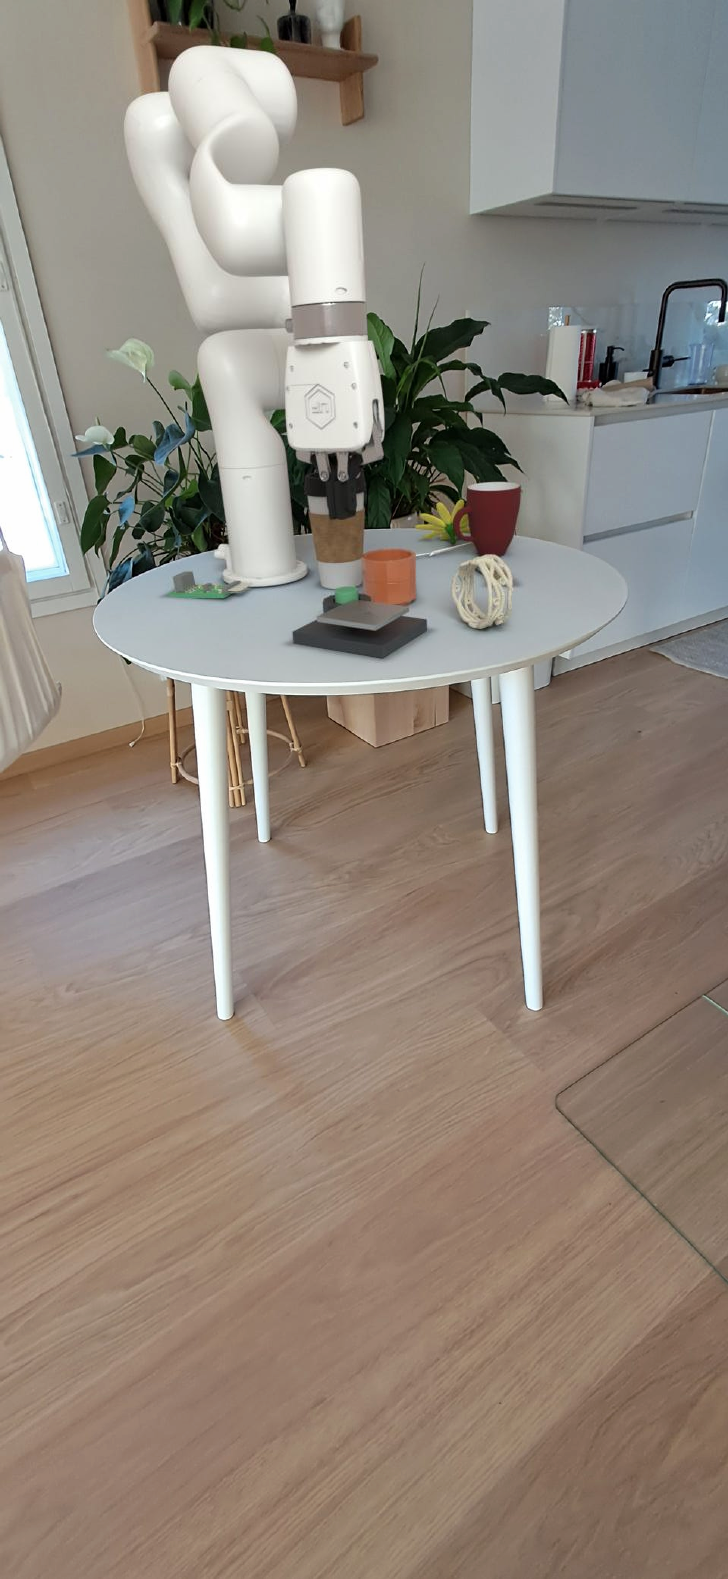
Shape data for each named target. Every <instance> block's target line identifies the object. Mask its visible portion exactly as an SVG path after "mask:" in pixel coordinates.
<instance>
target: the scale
mask: <svg viewBox="0 0 728 1579" xmlns="http://www.w3.org/2000/svg"><path fill="white" fill-rule="evenodd" d="M358 598H359V600H361V601H369V602H371V597H370V596H368V595H366V594H363V593H361V592H360V593H359V592H358ZM340 605H342V604H340V603H335V594H331V595H329V596H327V597H324V598H323V601H322V612H323V613H326V612H328V611H330V610H332V609H334V608H336V607H338V606H340ZM323 613H322V614H323ZM427 631H428V620H427V618H421V617H415V616H414V617H412V616H406V615H402V616H400V617H399V618H397V619H395V620H393V621H392V622H390V623H388V624H386V625H385V626H383V627H381V628H379V629H378V630H376V631H375V630H368V629H362V628H355V627H348V626H342V625H335V624H328V623H322V622H317V619H315V620H312V621H311V622H309V623H307V624H305V625H303V626H301V627H298V628H297V629H295V630H292V642H293V643H292V644H296V645H302V646H310V647H315V648H321V649H324V650H325V649H326V650H332V651H338V652H343V653H349V654H354V655H355V654H356V655H360V656H361V655H362V656H367V657H373V658H379V659H384V658H386V657H387V656H389V655H391V654H392V653H394V652H395V651H397V650H399V649H400V648H402V647H404V646H405V645H407V644H408V643H410V642H412V641H413V640H415V639H416V638H418V637H419V636H421V635H422V634H424V633H426V632H427Z"/></svg>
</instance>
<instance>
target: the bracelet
mask: <svg viewBox="0 0 728 1579" xmlns="http://www.w3.org/2000/svg"><path fill="white" fill-rule="evenodd" d="M486 565H487V566H488V567H489V569H490V571H489V569H488V568H487V566H486ZM477 566H479V568H480V570H481V572H482V573H481V572H480V573H481V574H482V575H483V577H484V580H485V583H486V588H487V610H486V614H485V613H484V612H483V611H482V610H481V609H480V608H479V607H478V605H477V603H476V602H475V598H474V594H475V592H474V591H475V570H476V567H477ZM494 570H495V571H496V572H497V573H498V575H499V576H500V577H501V578H500V579H498V580H496V579H495V578H494V577H493V573H494ZM503 570H504V571H505V572H506V574H507V577H506V576H505V574H504V572H503ZM458 579H459V581H460V584H458V583H457V580H458ZM512 580H513V574H512V572H511V570H510V567H509V566H508V565H507V564H506V563H505V561H504V560H503V559H502V558H501V557H500V556H499V557H498V556H496V555H484V556H476V557H474V558H473V559H468V560H467V561H463V562H461V563H460V564H459V565H458V569H457V571H455V574H454V576H453V578H452V581H451V587H450V592H451V597H452V600H453V602H454V604H455V605H456V608H457V611H458V614H459V617H460V618H461V619H462V621H463V622H465V623H466V624H467V623H468V624H467V625H468V626H469V627H470V628H473V629H478V630H479V629H480V630H483V629H486V628H487V627H491V626H493V624H495V625H496V626H499V625H502V624H504V622H505V621H507V620H508V619H509V618H510V616H511V614H512V609H513V607H512V606H513V605H512V601H513V593H515V592H514V591H515V590H514V587H513V585H512V583H513V582H514V580H513V581H512ZM468 582H469V584H468ZM468 585H469V586H468ZM503 585H505V587H506V588H507V598H506V593H505V590H504V587H503ZM468 588H469V589H468ZM493 591H494V592H493ZM458 592H459V593H458ZM456 593H458V596H457V594H456ZM493 593H494V595H495V596H493ZM462 599H463V602H462ZM462 603H463V604H462ZM505 604H506V612H505V613H504V612H503V611H504V608H505ZM469 605H470V607H471V609H472V611H471V610H470V608H469ZM493 606H494V607H493Z"/></svg>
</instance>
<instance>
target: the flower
mask: <svg viewBox="0 0 728 1579" xmlns="http://www.w3.org/2000/svg"><path fill="white" fill-rule="evenodd" d="M435 506H436V510H437V513H438V514H439V517H440V518H438V517H436V516H433V515H432V514H428V513H421V514H420V515H419V518H420V519H422V520H423V521H425V522H427V524H417V525H415V526H414V529H417V530H420V531H431V532H429V533H426V534H425V535H423V536H422V539H424V540H429V539H432V538H435V537H436V538H437V537H439V536H440V538H439V541H440V540H441V541H447V540H448V541H449V540H450V543H451V545H452V546H455V545H456V540H460V539H459V538H458V537H456V535H455V534H454V532H453V519H454V516H455V514H456V513H457V511H458V510H459V509H461V508H463V507H465V500H464V499H459V500H458V501H457V502H456V504H455V506H454V507H453V510H452V512H451V513H450V512H449V510H448V509H447V507H446V506H445V505H444V504H443V503H442V502H437V503H436V505H435ZM460 532H461V534H462V535H463V536H465V535H464V534H469V535H470V528H469V521H468V515H467V514H465V515H464V516H463V517H462V519H461V521H460Z"/></svg>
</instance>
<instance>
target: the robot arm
mask: <svg viewBox="0 0 728 1579" xmlns="http://www.w3.org/2000/svg"><path fill="white" fill-rule="evenodd" d="M291 74H292V73H291V72H290V70H289V69H288V67H287V65H286V64H285V63H284V62H283V60H282V59H281V58H280V57H279V56H277V55H276V54H274V53H271V52H268V51H264V50H253V49H244V48H236V47H228V46H227V47H226V46H219V45H218V46H217V45H196V46H192V47H190V48H187V49H186V50H184V51H183V52H181V53H180V54H179V55H178V56H177V57H176V59H175V60H174V61H173V63H172V65H171V68H170V71H169V75H168V80H167V82H168V83H167V84H168V85H167V86H168V91H155V92H150V93H146V94H143V95H140V96H138V97H137V98H135V99H134V100H132V101H131V103H130V104H129V105H128V107H127V109H126V111H125V115H124V121H123V137H124V145H125V151H126V156H127V160H128V165H129V169H130V172H131V175H132V178H133V179H132V180H133V181H134V184H135V187H136V189H137V192H138V194H139V196H140V199H141V200H142V203H143V205H144V206H145V208H146V210H147V212H148V214H149V216H150V217H151V219H152V221H153V222H154V224H155V226H156V228H157V229H158V231H159V232H160V234H161V236H162V238H163V239H164V241H165V244H166V246H167V249H168V251H169V255H170V259H171V261H172V264H173V268H174V270H175V274H176V277H177V280H178V283H179V286H180V289H181V292H182V295H183V298H184V301H185V304H186V308H187V309H188V312H189V314H190V317H191V320H192V321H193V323H194V325H195V326H196V328H197V329H198V330H199V331H200V332H201V333H203V334H204V335H206V336H208V337H207V338H206V339H204V340H203V342H202V343H201V344H200V346H199V348H198V352H197V357H196V366H197V367H196V368H197V374H198V379H199V383H200V387H201V389H202V393H203V397H204V401H205V404H206V407H207V411H208V415H209V420H210V424H211V428H212V435H213V440H214V447H215V453H216V460H217V468H218V474H219V481H220V487H221V495H222V503H223V509H224V517H225V526H226V532H227V538H228V543H221V544H219V545H218V546H217V549H215V550H214V552H213V558H214V559H215V560H219V561H225V562H226V568H224V570H223V571H222V579H223V581H224V582H225V583H226V584H227V585H228V584H230V583H232V582H234V581H241V583H252V585H250V586H253V587H252V588H260V587H272V586H279V585H286V584H289V583H292V582H296V581H298V580H301V579H303V578H304V577H305V576H307V574H308V572H309V571H308V565H307V564H306V563H305V562H303V561H301V560H298V559H297V555H296V545H295V534H294V533H295V532H294V525H293V524H294V523H293V513H292V512H293V511H292V502H291V492H290V490H291V489H290V481H289V480H290V479H289V470H288V461H287V453H286V447H285V444H284V442H283V438H282V436H281V434H279V433H278V431H277V429H275V427H274V426H273V425H272V424H271V422H270V421H269V420H268V418H267V417H266V415H265V412H272V411H276V410H277V411H278V410H285V427H286V436H287V443H288V445H289V446H290V447H291V449H293V450H295V457H296V459H297V460H298V461H300V462H301V461H302V462H304V463H306V464H311V465H312V466H313V467H314V469H315V470H316V472H319V475H320V478H321V480H322V481H325V484H326V497H327V507H328V511H329V518H330V519H333V520H335V519H338V520H344V519H347V518H350V517H353V516H355V515H356V508H357V495H356V478H358V477H359V476H360V472H361V470H362V469H363V470H364V468H365V467H366V465H367V464H370V463H374V462H376V461H380V460H383V458H384V455H385V454H384V450H383V445H382V442H383V441H384V439H385V408H384V398H383V397H384V396H383V388H382V380H381V374H380V368H379V363H378V358H377V353H376V349H375V345H374V341H373V340H369V336H368V317H367V316H368V315H367V304H366V303H367V294H366V292H367V291H366V273H365V271H366V270H365V269H366V268H365V251H364V250H365V248H364V231H363V230H364V229H363V228H364V227H363V208H362V206H363V205H362V193H361V192H362V191H361V187H360V183H359V181H358V178H356V176H355V175H354V174H353V173H352V172H350V171H349V170H345V169H342V168H337V167H317V168H308V169H302V170H300V171H296V172H294V173H292V174H290V175H288V176H287V178H286V179H285V180H284V182H283V184H282V185H281V184H280V185H277V184H275V185H274V184H270V182H271V180H272V179H273V178H274V175H275V173H276V171H277V169H278V168H277V167H278V165H279V159H280V155H281V154H282V153H283V152H284V151H285V149H286V148H287V146H288V145H289V144H290V142H291V140H292V138H293V136H294V133H295V129H296V126H297V120H298V97H297V90H296V86H295V83H294V80H293V77H292V75H291ZM363 448H365V449H364V450H363Z"/></svg>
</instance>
